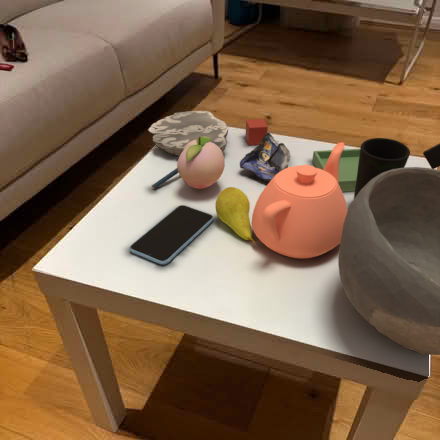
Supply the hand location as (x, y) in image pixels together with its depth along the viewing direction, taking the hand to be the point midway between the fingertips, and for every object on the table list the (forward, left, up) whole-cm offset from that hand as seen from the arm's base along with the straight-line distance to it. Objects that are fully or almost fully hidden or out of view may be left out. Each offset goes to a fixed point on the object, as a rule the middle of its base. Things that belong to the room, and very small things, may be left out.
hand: (439, 142), depth 69 cm
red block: (+21, -34, -15) cm, 43 cm away
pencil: (+44, -16, -15) cm, 49 cm away
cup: (+6, -5, -15) cm, 17 cm away
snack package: (+20, -21, -15) cm, 33 cm away
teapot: (+20, +1, -15) cm, 25 cm away
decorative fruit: (+34, -16, -15) cm, 41 cm away
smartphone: (+40, -2, -15) cm, 43 cm away
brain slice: (+35, -34, -15) cm, 52 cm away
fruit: (+31, -8, -11) cm, 34 cm away
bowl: (+11, +19, -14) cm, 26 cm away
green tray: (+5, -18, -15) cm, 24 cm away
